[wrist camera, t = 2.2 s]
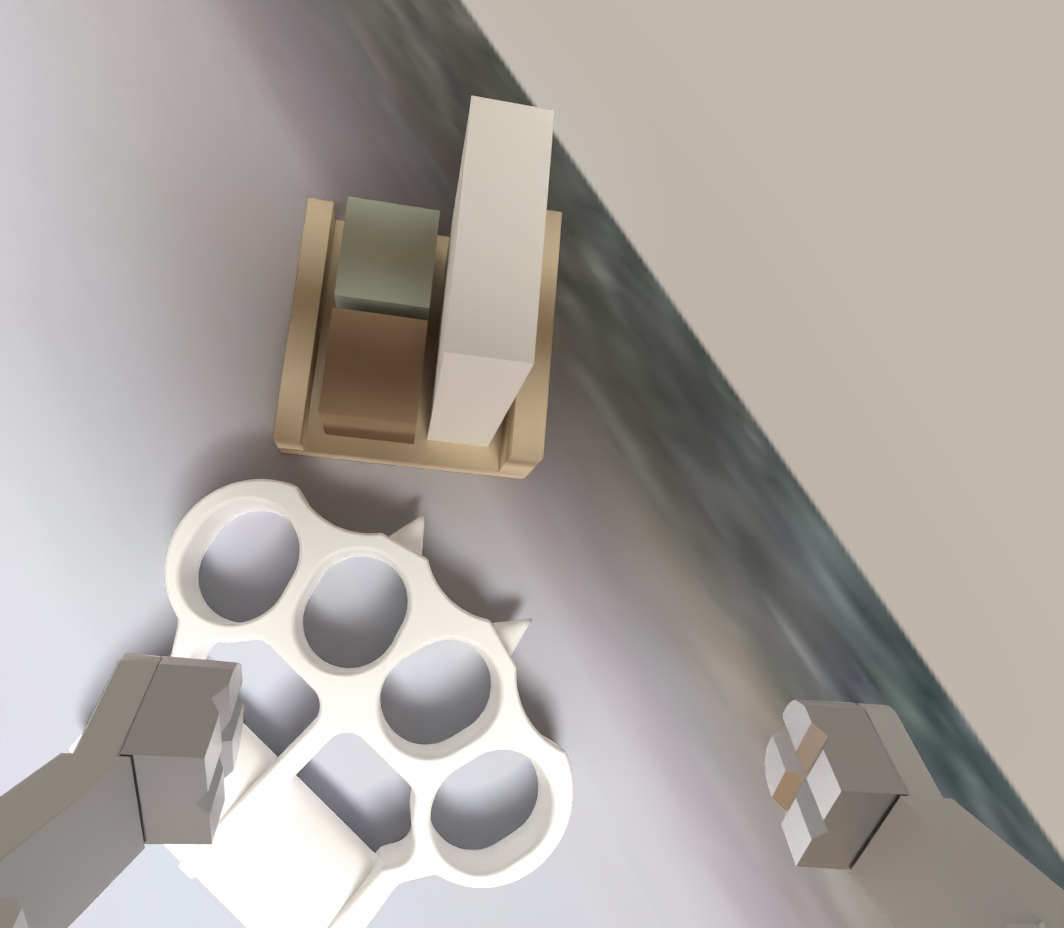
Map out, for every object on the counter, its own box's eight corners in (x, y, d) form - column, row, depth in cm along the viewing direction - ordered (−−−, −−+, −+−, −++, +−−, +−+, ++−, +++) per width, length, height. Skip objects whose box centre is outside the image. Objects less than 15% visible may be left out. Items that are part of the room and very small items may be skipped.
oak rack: (523, 479, 34) (543, 458, 30) (281, 452, 33) (264, 427, 28) (541, 261, 36) (561, 212, 32) (313, 227, 35) (303, 170, 30)
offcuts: (413, 444, 33) (416, 423, 29) (325, 434, 32) (318, 412, 29) (435, 251, 34) (440, 210, 31) (351, 238, 34) (347, 196, 30)
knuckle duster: (27, 682, 30) (321, 418, 34) (371, 1025, 30) (629, 721, 33) (-17, 690, 27) (313, 396, 30) (369, 1075, 26) (654, 731, 30)
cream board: (487, 446, 33) (533, 363, 23) (426, 439, 33) (444, 351, 22) (504, 266, 35) (554, 110, 24) (446, 258, 34) (471, 95, 24)
